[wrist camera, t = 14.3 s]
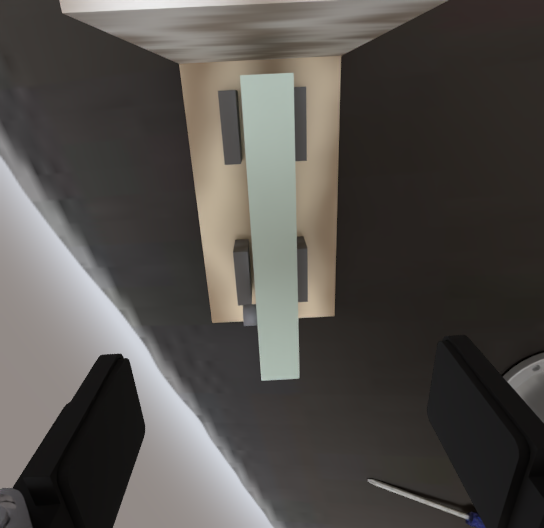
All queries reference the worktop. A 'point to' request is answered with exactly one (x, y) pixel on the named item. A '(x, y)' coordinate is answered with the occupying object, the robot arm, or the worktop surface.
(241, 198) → the hinge base
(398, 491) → the screwdriver
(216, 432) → the worktop surface
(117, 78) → the worktop surface
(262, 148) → the door
